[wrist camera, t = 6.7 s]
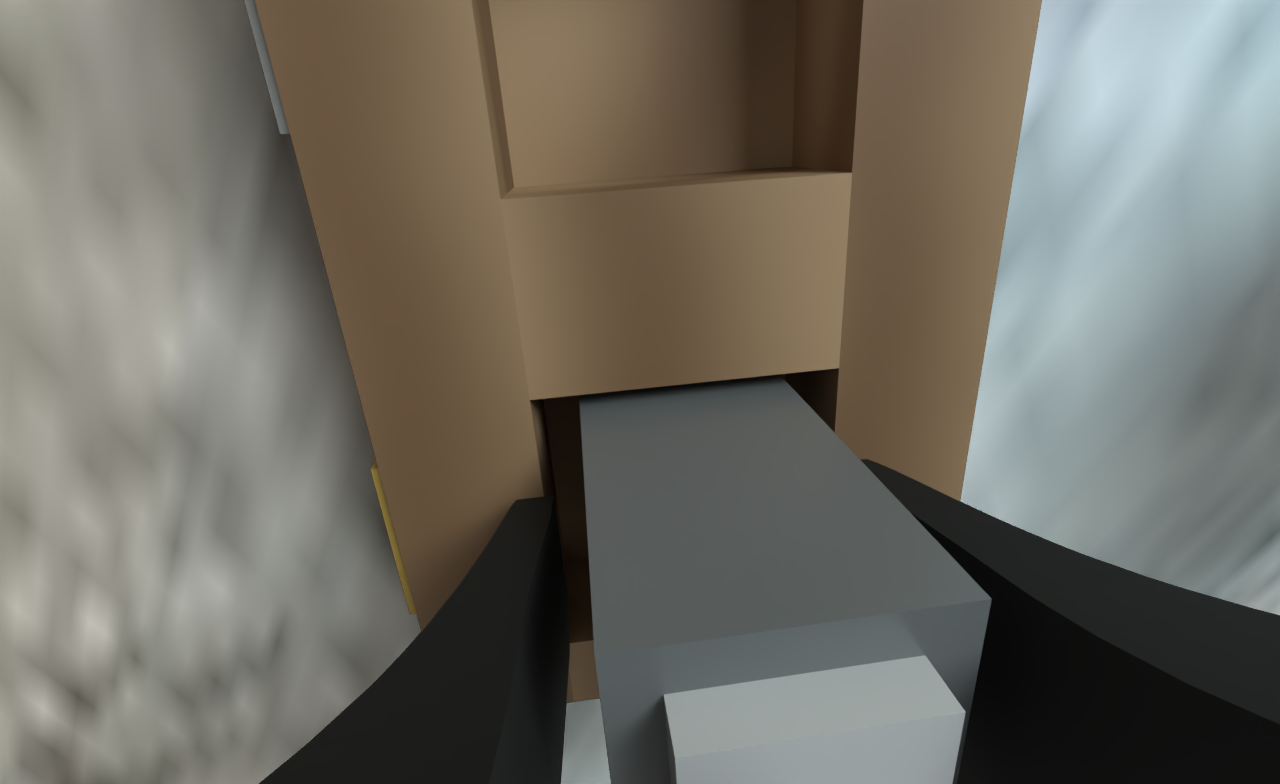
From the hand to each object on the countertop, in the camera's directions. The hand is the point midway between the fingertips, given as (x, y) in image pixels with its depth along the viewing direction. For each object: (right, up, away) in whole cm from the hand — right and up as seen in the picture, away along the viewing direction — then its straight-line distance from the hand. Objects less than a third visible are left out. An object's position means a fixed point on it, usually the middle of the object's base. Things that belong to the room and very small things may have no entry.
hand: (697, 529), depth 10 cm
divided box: (-1, +5, +2) cm, 5 cm away
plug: (0, +1, +3) cm, 3 cm away
